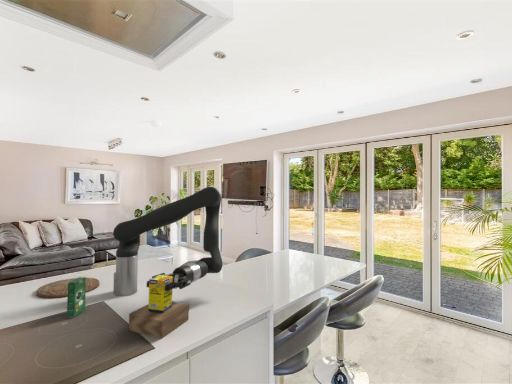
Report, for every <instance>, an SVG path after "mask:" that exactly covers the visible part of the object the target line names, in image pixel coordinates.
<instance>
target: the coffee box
mask: <svg viewBox="0 0 512 384" xmlns="http://www.w3.org/2000/svg"><path fill="white" fill-rule="evenodd" d="M75 278H76V279H74V280H72V281H70V282H68V297H66V298H67V300H66V301H67V306H66V318H67V319H74V318H75V317H77V316H78V315H79V314H80V313H82V312H84V311H85V309H86V293H85V287H86V278H87V277H86V276H78V277H75Z"/></svg>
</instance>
